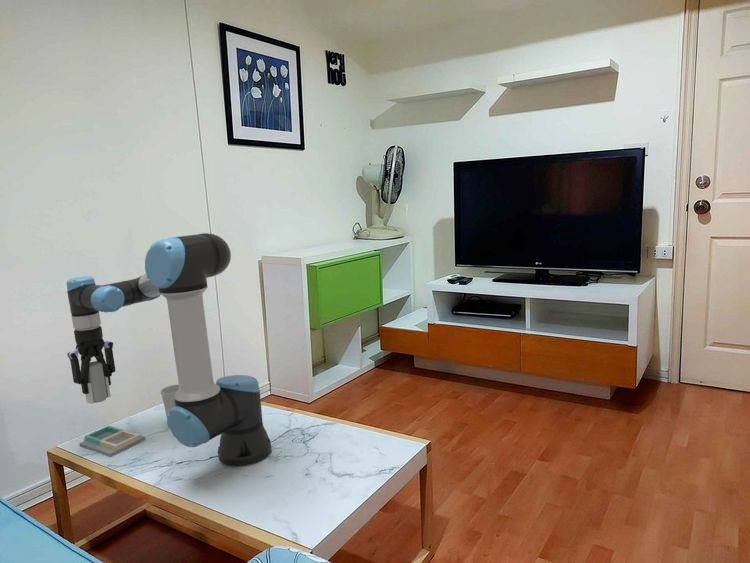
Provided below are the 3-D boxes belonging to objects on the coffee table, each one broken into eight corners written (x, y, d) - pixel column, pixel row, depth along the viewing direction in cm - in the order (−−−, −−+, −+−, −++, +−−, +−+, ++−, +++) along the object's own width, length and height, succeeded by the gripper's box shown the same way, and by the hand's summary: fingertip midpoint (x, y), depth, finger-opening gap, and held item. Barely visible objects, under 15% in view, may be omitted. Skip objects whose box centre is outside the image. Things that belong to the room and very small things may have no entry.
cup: (166, 420, 183) (161, 386, 181) (190, 415, 186) (186, 382, 183) (164, 429, 176) (159, 395, 174) (190, 425, 178) (185, 390, 176)
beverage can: (100, 403, 165) (94, 366, 163) (86, 403, 166) (80, 366, 164) (110, 397, 170) (105, 361, 168) (97, 396, 171) (91, 360, 169)
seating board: (146, 439, 169) (144, 432, 169) (110, 457, 159) (109, 449, 159) (115, 430, 178) (114, 423, 177) (79, 446, 168) (78, 438, 167)
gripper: (107, 319, 173) (117, 387, 178) (50, 333, 158) (63, 408, 163) (121, 321, 169) (131, 391, 174) (65, 336, 155) (77, 412, 159)
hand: (98, 399), depth 168 cm, fingers closed on beverage can, 5 cm apart
